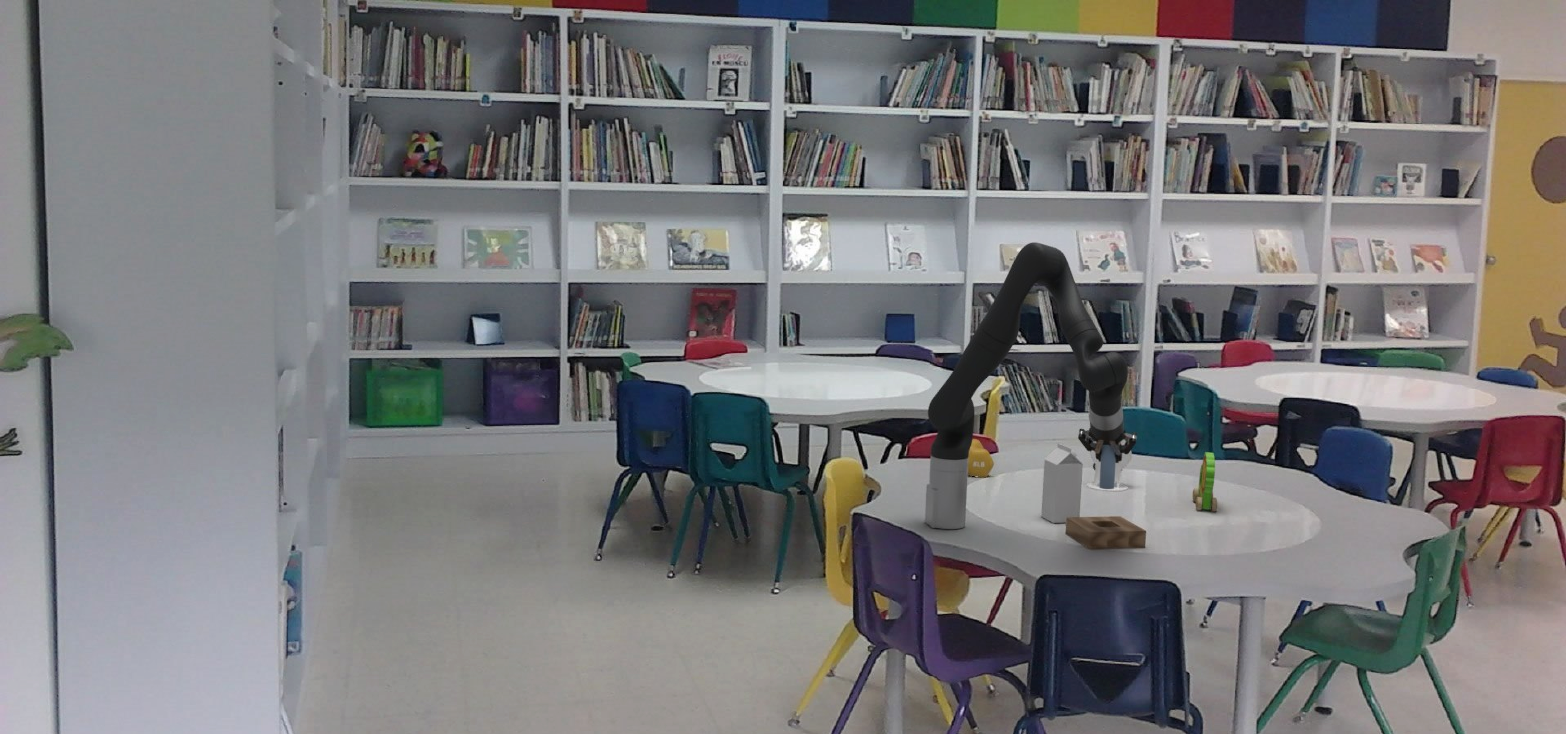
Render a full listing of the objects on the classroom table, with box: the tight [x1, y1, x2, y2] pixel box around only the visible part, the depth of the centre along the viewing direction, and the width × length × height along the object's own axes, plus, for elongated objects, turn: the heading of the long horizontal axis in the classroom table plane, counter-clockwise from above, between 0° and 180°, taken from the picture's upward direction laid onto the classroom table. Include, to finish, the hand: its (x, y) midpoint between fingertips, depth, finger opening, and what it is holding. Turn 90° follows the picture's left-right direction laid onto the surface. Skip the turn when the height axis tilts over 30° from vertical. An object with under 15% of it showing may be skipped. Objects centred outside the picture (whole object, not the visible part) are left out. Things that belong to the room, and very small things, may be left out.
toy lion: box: [1192, 451, 1218, 512], centre depth 364 cm, size 16×5×15 cm, turn 168°
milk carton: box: [1040, 442, 1084, 524], centre depth 345 cm, size 7×7×19 cm
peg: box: [1099, 445, 1116, 489], centre depth 325 cm, size 3×3×14 cm
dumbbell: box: [968, 438, 995, 478], centre depth 402 cm, size 19×9×8 cm, turn 0°
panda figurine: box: [1086, 437, 1133, 493], centre depth 385 cm, size 12×11×15 cm
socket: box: [1065, 515, 1147, 550], centre depth 328 cm, size 14×14×4 cm
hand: (1109, 459), depth 327 cm, fingers closed on peg, 3 cm apart
